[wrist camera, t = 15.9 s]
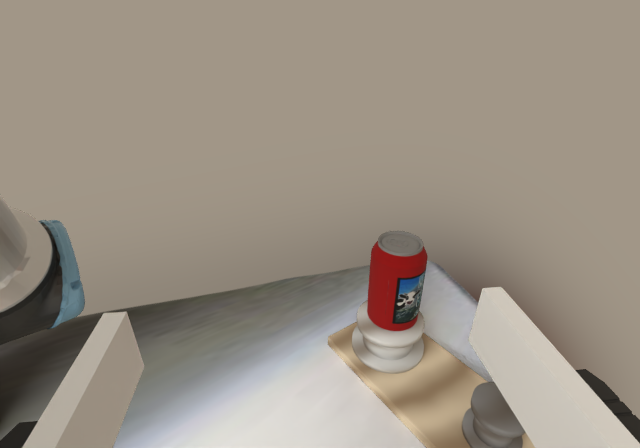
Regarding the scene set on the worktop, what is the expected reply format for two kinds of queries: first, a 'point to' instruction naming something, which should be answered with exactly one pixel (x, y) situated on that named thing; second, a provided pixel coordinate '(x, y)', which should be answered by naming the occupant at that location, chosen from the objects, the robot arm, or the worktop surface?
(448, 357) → the wooden knob board
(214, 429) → the worktop surface
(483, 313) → the robot arm
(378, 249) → the beverage can
